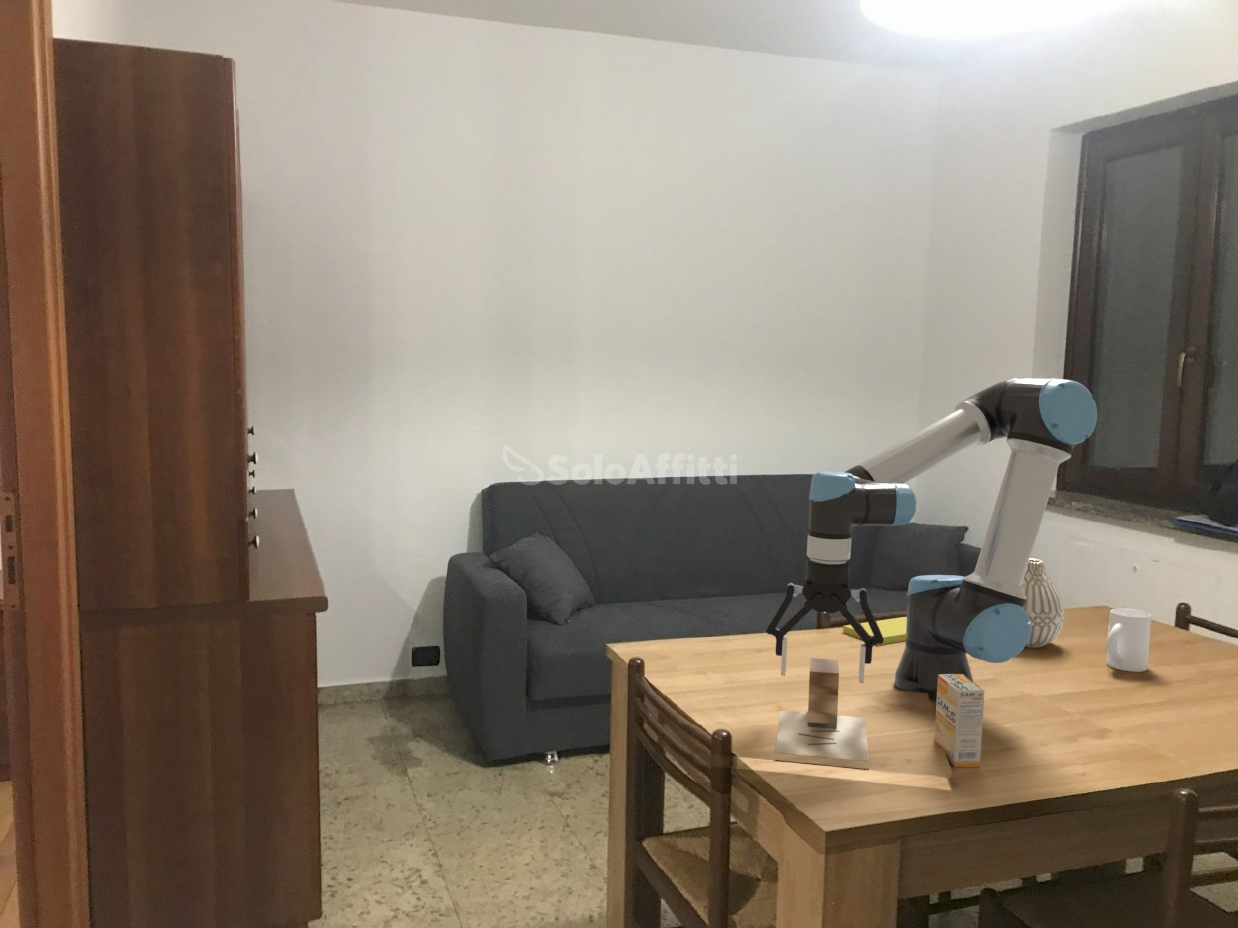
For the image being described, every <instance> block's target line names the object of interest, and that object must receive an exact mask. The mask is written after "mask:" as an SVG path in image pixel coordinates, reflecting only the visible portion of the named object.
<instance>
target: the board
mask: <svg viewBox="0 0 1238 928" xmlns="http://www.w3.org/2000/svg"><path fill="white" fill-rule="evenodd" d="M777 728H778V729H777V736H776V742H775V743H776V744H775V749H774V753H775V754H786V755H796V756H797V755H798V756H807V757H809V756H810V757H818V758H828V759H837V760H838V759H839V760H847V761H857V762H870V754H869V745H868V737H867V735H868V734H867V727H866V718H865V717H862V716H861V717H859V716H849V715H838V714H837V729H829V728H818V727H808V712H804V711H803V712H802V711H793V710H792V711H791V710H780V712H779V719H778V726H777ZM774 762H781V763H792V764H800V765H801V764H802V765H812V766H821V767H832V768H841V769H851V770H862V771H863V770H864V771H870V769H869V768H863V767H861V768H859V767H852V766H843V765H841V766H840V765H832V764H823V763H822V764H820V763H811V762H800V761H791V760H782V759H781V760H779V759H774Z"/></svg>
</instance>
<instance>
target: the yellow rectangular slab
mask: <svg viewBox="0 0 1238 928" xmlns="http://www.w3.org/2000/svg"><path fill="white" fill-rule="evenodd" d="M876 622H877V625H878V627H879V629H880V631H881V634H882V636H883V640H884V641H883V643H882V644H875V645H876V646H881V645H883V646H884V645H888V644H894V643H900V642H906V624H907V616H901V617H894V618H888V619H887V618H886V619H881V620H876ZM860 624H861V625H862V626H863V628H864V629H865V630H866V631H867V633H868V634H869V635H870V637H871V636H874V635H873V632H872V630H871V628H870V626H869V623H868V621H866V622H860ZM842 627H843V628H842V629H843V630H842V633H844V634H847V635H849V636H852V637H854V638H857V639H860V640H862V639H861V638H860V636H859V635H858V634H857V633H856V631H855V630H854V629H853V627H852V626H851V625H850V624H848V625H847V624H846V625H843V626H842Z"/></svg>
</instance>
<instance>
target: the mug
mask: <svg viewBox="0 0 1238 928" xmlns="http://www.w3.org/2000/svg"><path fill="white" fill-rule="evenodd" d="M1151 625H1152V614H1151V613H1149V612H1146V611H1144V610H1139V609H1134V608H1127V607H1126V608H1124V607H1123V608H1121V607H1120V608H1112V609H1110V612H1109V625H1108V627H1107V630H1108V632H1107V634H1106V635H1107V637H1106V638H1107V643H1106V650H1107V652H1106V653H1107V654H1106V664H1107V665H1108V666H1109V667H1111V668H1113V669H1115V670H1116V669H1117V670H1119V671H1124V672H1125V671H1126V672H1134V673H1135V672H1136V673H1139V672H1146V671H1148V667H1149V666H1148V665H1149V655H1150V654H1149V653H1150V640H1151V639H1150V637H1151V628H1152V627H1151Z"/></svg>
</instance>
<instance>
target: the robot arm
mask: <svg viewBox="0 0 1238 928" xmlns="http://www.w3.org/2000/svg"><path fill="white" fill-rule="evenodd" d="M1097 409H1098V408H1097V404H1096V401H1095V400H1094V399H1093V395H1092V393H1091V391H1090V390H1089V389H1088V388H1087V387H1086V386H1085V385H1083V384H1082V383H1081V382H1078V381H1075V380H1070V379H1062V378H1059V377H1055V378H1054V377H1053V378H1030V377H1029V378H1027V377H1016V378H1009V379H1006V380H1003V381H1000V382H997V383H995V384H993V385H991V386H989V387H987V388H985V389H983V390H981V391H979V392H976V393H975V394H973V395H971V396H969V397H967V398H965V399H964V400H962V401H959V403H957V404H956V406H955V407H954V411H952V412H951V413H948V414H947V415H945V416H943V417H942V418H941V419H938V420H936V421H935V422H932V423H931V424H929V425H928V426H925V427H924V428H921V429H920V430H918V431H917V432H915V433H913V434H911V435H909V436H908V437H906V438H904V439H902V440H900V441H899V442H897V443H894V444H893V445H891V446H889V447H887V448H886V449H884V450H882V451H881V452H879V453H877V454H875V455H873V456H871V457H870V458H868V459H866V460H864V461H862V462H860V463H859V464H857V465H855V466H853V467H851V468H850V469H847V470H845V471H844V472H842V471H827V470H826V471H817V472H815V473H814V474H813V475H812V477H811V480H810V481H811V483H810V490H809V495H808V499H809V507H808V508H809V510H808V527H807V528H808V532H807V533H808V534H807V540H806V541H807V543H806V556H807V557H808V559H807V560H806V565H805V566H806V567H805V582H804V584H803V585H799V584H798V585H797V584H795V583H794V582H789V583H788V584H787V587H786V594H785V596H784V597H783V598H782V601H781V602H780V604H779V605H778V607H777V609H776V611H775V613H774V614H773V616H772V618H771V620H770V621H769V623H768V624H767V627H766V630H765V631H766V634H767V635H771V636H773V637H775V655H776V657H777V656H780V657H781V661H780V662H781V664H780V669H781V670H780V676H784V677H785V676H786V671H787V655H788V636H787V634H788V633H789V632H790V631H791V630H792V628H794V627H795V626H796V625H797V624H798V623H799V622H801V620H802V619H803V618H804V617H805V616H806V615H807V614H808V613H809V612H810V611H811V610H814V612H817V613H824V612H826V613H828V614H835V613H838V612H839V613H840V614H841V616H842V617H844V618H845V620H846V621H847V622H848V623H849V625H851V626H852V627H853V629H854V630H855V631H856V633H857V634H858V635H859V636H860V638H861V639H860V638H859V639H860V640H861V641H862V642H860V647H859V649H860V651H859V652H860V653H859V667H858V668H859V669H858V683H859V684H864V681H865V664H866V665H867V664H868V665H870V664H871V663H872V658H873V657H872V656H873V647H874V646H875V645H876V644H882V643H883V641H884V640H883V636H882V634H881V631H880V629H879V627H878V625H877V622H876V621H877V620H876V618H875V616H874V614H873V612H872V609H871V607H870V604H869V603H868V594H867V590H866V588H865V587H861V588H859V589H850V585H849V584H850V572H851V571H850V570H851V569H850V568H851V564H850V563H849V560H850V559H851V554H852V553H851V551H852V535H853V533H852V532H853V527H861V526H862V527H863V526H865V527H866V526H873V527H874V526H890V527H894V526H901V525H907V524H909V523H910V522H912V520H913V519H914V517H915V514H916V510H917V498H916V494H915V492H914V491H913V488H911V486H910V485H908V484H906V483H908V482H909V481H911V480H913V479H915V478H917V477H918V476H920V475H922V474H925V472H928V471H930V470H931V469H932V468H934V467H936V466H938V465H940V464H942V463H943V462H946V461H947V460H949V459H951V458H953V457H954V456H956V455H957V454H960V453H961V452H963V451H965V450H966V449H968V448H970V447H973V446H974V445H975V446H984V445H987V444H988V443H990V442H992V441H994V440H998V439H1003V438H1006V440H1005V442H1006V443H1007V445H1008V447H1009V448H1010V451H1011V452H1010V456H1009V458H1008V462H1007V466H1006V469H1005V472H1004V475H1003V478H1002V481H1001V485H1000V488H999V492H998V494H997V498H996V501H995V504H994V507H993V511H992V514H991V517H990V519H989V520H990V521H989V524H988V527H987V529H986V533H985V536H984V539H983V542H982V546H981V549H980V552H979V555H978V559H977V562H976V565H975V568H974V571H973V572H972V573H971V574H969V575H966V576H963V575H954V574H953V575H951V574H950V575H949V574H927V575H924V574H923V575H917V576H914V577H912V578H911V579H910V580H909V582H908V587H907V588H908V589H907V593H906V597H907V603H906V605H907V606H906V617H907V624H906V641H905V646H904V650H903V652H902V656H901V658H900V659H899V662H898V665H897V667H896V670H895V674H894V685H895V687H896V688H897V689H899V690H900V691H902V692H909V693H921V694H927V697H928V699H931V700H937V684H938V675H940V674H963V675H965V676H966V677H967V678H968V679H970V680H971V681H972V682H974V678H973V675H972V672H971V668H970V665H969V661H968V657H967V655H969V656H970V657H971V658H973V659H977V660H980V661H984V662H987V663H991V664H1001V663H1005V662H1008V661H1010V660H1011V659H1012V658H1016V656H1018V655H1019V654H1020V653H1021V652H1022V651H1023V650H1024V649H1025V648H1026V647H1025V646H1026V644H1027V642H1028V640H1029V637H1030V633H1031V622H1029V616H1028V614H1027V613H1026V612H1025V610H1024V605H1025V602H1026V598H1027V597H1026V595H1025V594H1024V592H1023V590H1022V587H1021V585H1022V582H1023V579H1024V576H1025V573H1026V569H1027V566H1028V563H1029V560H1030V558H1032V553H1033V550H1034V547H1035V543H1036V539H1037V538H1038V537H1037V536H1038V534H1039V530H1040V528H1041V524H1042V521H1043V518H1044V515H1045V511H1046V507H1047V504H1048V502H1049V499H1050V496H1051V492H1052V490H1053V489H1052V488H1053V485H1054V483H1055V478H1056V476H1057V473H1058V469H1059V466H1060V464H1062V463H1064V462H1065V461H1068V460H1069V459H1071V458H1072V454H1073V451H1074V448H1075V446H1077V445H1079V444H1081V443H1083V442H1085V441H1086V439H1089V438H1090V436H1092V434H1093V433H1094V431H1095V430H1096V426H1097V425H1096V424H1097V420H1098V410H1097ZM800 593H801V594H802V595H803V596H804V598H805V600H806V601H804V602H803V604H802V605H801V606H800V607H799V608H798V609H797V610H796V611H795V612H794V613H793V614H792V615H791V616H790V617H789V618H788V619H787V620H786V621H784V623H783V624H782V625H781V626H780V627H779V628H778V625H779V623H780V621H781V620H782V618H783V616H784V614H785V613H786V611H787V609H788V608H789V606H790V605H791V602H792V600H793V598H797V597H798V596H799V594H800ZM851 598H854V600H855V602H856V603H859V604H860V607H861V610H862V612H863V615H864V616H865V619H866V622H868V623H869V626H870V628H871V630H872V632H873V635H874V636H871V637H870V635H869V634H868V633H867V631H866V630H865V629H864V628H863V626H862V625H861V624H860V623H861V622H860V621H859V620H858V619H857V617H856V616H855V615H854V613H853V612H852V611H851V609H850V607H849V606H848V605H847V604H846V603H847V602H848V601H849V600H850V599H851Z"/></svg>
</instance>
